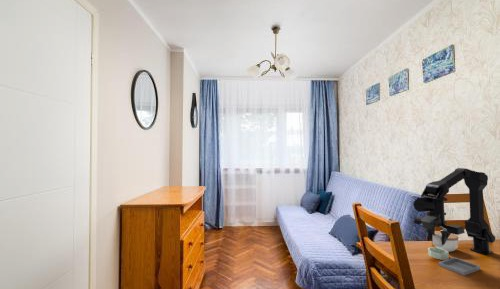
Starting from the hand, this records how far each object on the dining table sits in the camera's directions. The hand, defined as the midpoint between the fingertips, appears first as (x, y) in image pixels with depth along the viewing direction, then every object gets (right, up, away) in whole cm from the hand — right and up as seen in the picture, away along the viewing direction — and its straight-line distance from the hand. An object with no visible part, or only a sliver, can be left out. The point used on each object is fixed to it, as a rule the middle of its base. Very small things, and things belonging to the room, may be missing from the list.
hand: (437, 243), depth 110 cm
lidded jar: (+10, -7, +8) cm, 14 cm away
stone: (0, -1, 0) cm, 1 cm away
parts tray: (0, -6, -11) cm, 13 cm away
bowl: (0, -7, 0) cm, 7 cm away
